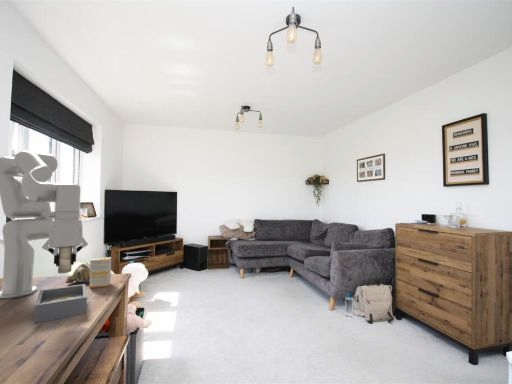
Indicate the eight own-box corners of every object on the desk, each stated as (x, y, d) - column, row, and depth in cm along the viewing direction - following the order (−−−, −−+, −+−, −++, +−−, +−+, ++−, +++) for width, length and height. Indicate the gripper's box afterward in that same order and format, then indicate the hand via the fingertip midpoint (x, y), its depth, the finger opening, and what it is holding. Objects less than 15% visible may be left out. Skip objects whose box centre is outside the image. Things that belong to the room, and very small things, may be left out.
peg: (58, 271, 97) (59, 244, 97) (71, 269, 99) (72, 243, 99) (57, 273, 94) (58, 246, 94) (71, 272, 96) (72, 245, 96)
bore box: (39, 305, 99) (40, 290, 99) (84, 298, 107) (85, 284, 107) (33, 323, 86) (34, 305, 86) (85, 313, 94) (86, 297, 94)
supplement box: (110, 283, 126) (112, 256, 126) (108, 286, 121) (110, 259, 122) (91, 284, 123) (92, 257, 123) (88, 288, 118) (90, 259, 119)
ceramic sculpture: (98, 259, 136) (90, 268, 122) (98, 275, 137) (90, 286, 122) (75, 260, 133) (63, 270, 119) (75, 276, 133) (63, 288, 119)
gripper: (37, 217, 89) (34, 270, 89) (93, 216, 99) (91, 264, 98) (39, 215, 95) (37, 265, 95) (92, 215, 105) (90, 260, 104)
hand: (65, 264), depth 96 cm, fingers closed on peg, 4 cm apart
